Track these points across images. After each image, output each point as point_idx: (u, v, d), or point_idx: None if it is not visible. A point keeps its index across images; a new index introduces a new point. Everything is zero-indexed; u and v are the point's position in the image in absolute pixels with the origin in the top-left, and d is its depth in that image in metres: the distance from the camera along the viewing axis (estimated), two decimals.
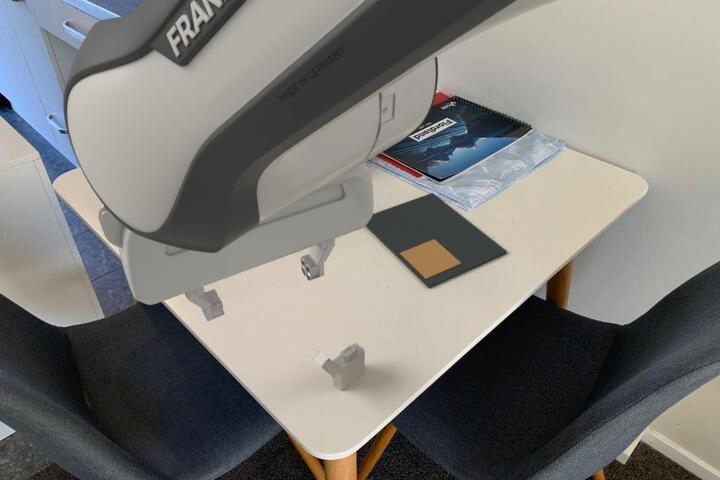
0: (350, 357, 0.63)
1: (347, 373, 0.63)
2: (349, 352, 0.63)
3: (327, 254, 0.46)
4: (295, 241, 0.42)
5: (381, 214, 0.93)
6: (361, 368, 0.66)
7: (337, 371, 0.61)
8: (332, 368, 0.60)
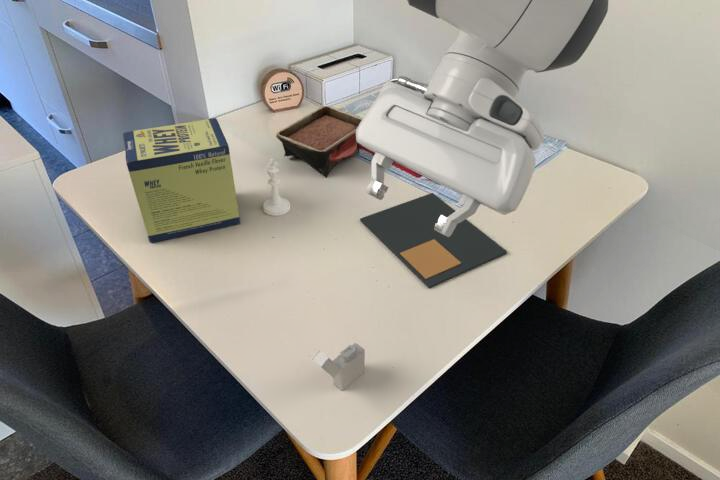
0: (350, 357, 0.63)
1: (347, 373, 0.63)
2: (349, 352, 0.63)
3: (459, 213, 0.53)
4: (445, 169, 0.54)
5: (381, 214, 0.93)
6: (361, 368, 0.66)
7: (337, 371, 0.61)
8: (332, 368, 0.60)
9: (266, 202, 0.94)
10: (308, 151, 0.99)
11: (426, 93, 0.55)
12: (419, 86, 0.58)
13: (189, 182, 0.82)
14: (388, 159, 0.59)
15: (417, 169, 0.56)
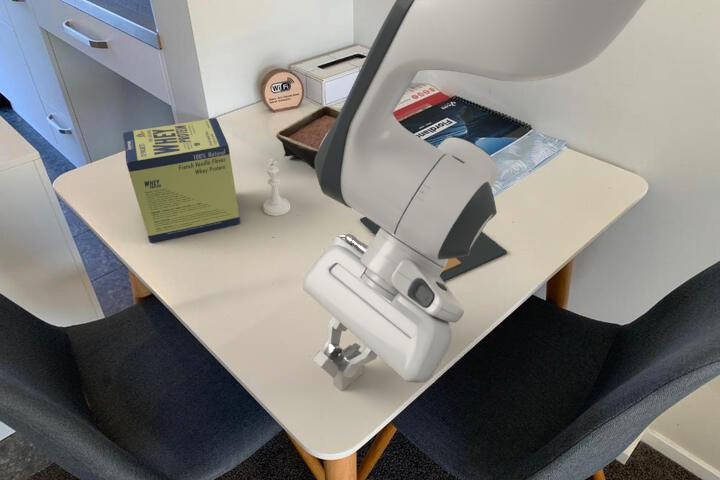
0: (350, 357, 0.63)
1: None
2: (349, 352, 0.63)
3: (358, 359, 0.60)
4: (369, 333, 0.59)
5: None
6: (361, 368, 0.66)
7: (337, 371, 0.61)
8: (332, 368, 0.60)
9: (266, 202, 0.94)
10: (308, 151, 0.99)
11: (360, 261, 0.61)
12: (361, 247, 0.64)
13: (189, 182, 0.82)
14: None
15: (347, 327, 0.61)
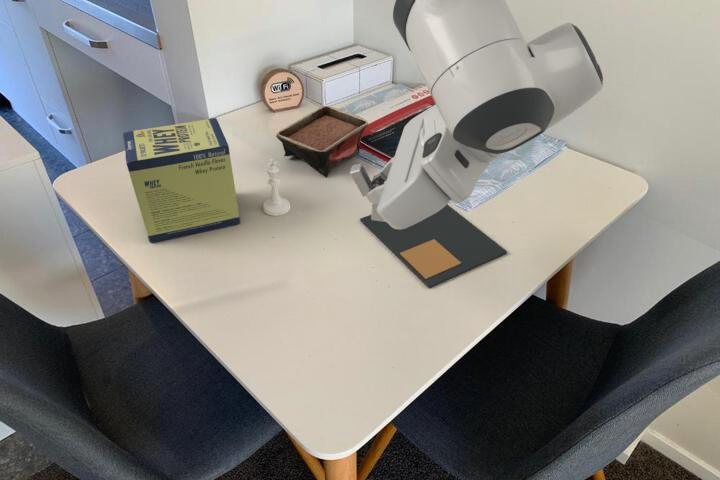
0: None
1: None
2: None
3: (378, 188, 0.65)
4: (395, 169, 0.62)
5: None
6: None
7: (367, 192, 0.68)
8: (361, 184, 0.67)
9: (266, 202, 0.94)
10: (308, 151, 0.99)
11: None
12: None
13: (189, 182, 0.82)
14: None
15: (392, 161, 0.65)
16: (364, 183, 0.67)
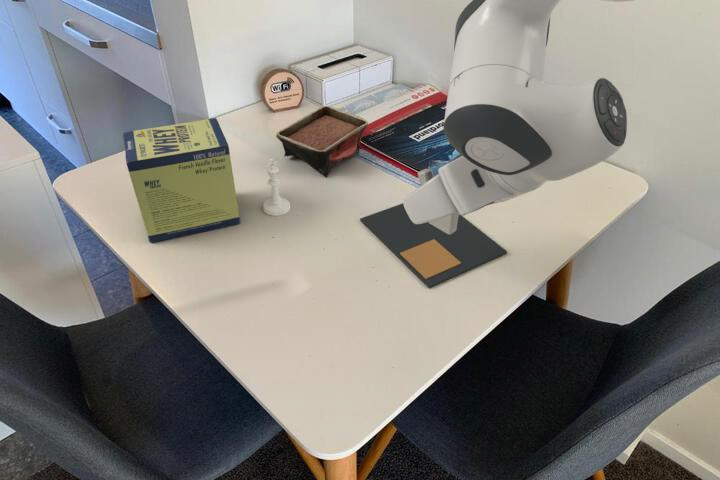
0: None
1: None
2: None
3: None
4: None
5: (381, 214, 0.93)
6: (447, 225, 0.76)
7: None
8: None
9: (266, 202, 0.94)
10: (308, 151, 0.99)
11: None
12: None
13: (189, 182, 0.82)
14: None
15: None
16: None
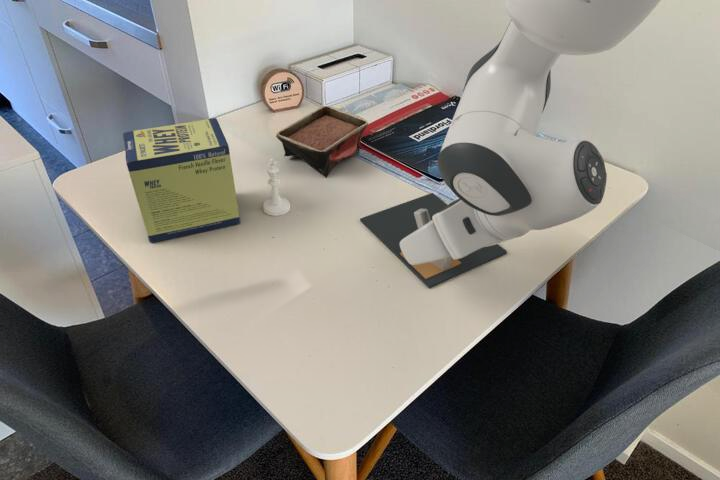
0: None
1: None
2: None
3: None
4: None
5: (381, 214, 0.93)
6: (441, 262, 0.81)
7: None
8: (420, 225, 0.80)
9: (266, 202, 0.94)
10: (308, 151, 0.99)
11: None
12: None
13: (189, 182, 0.82)
14: None
15: None
16: (422, 225, 0.80)
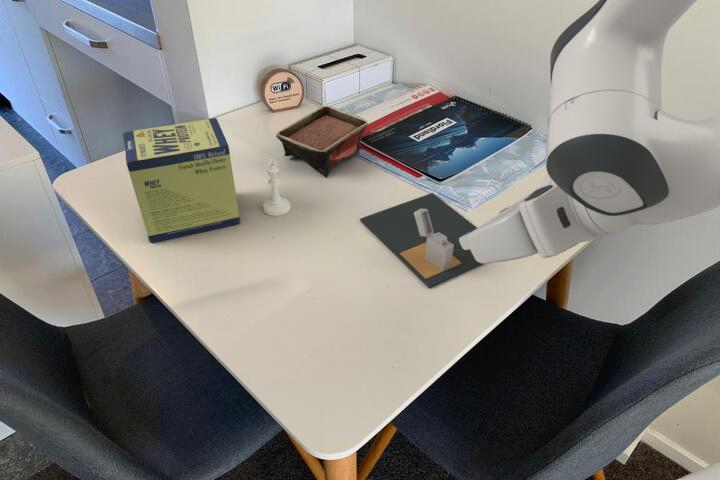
0: (437, 240, 0.80)
1: (430, 248, 0.81)
2: (439, 237, 0.79)
3: None
4: (505, 211, 0.63)
5: (381, 214, 0.93)
6: (441, 262, 0.81)
7: (423, 233, 0.81)
8: (420, 225, 0.80)
9: (266, 202, 0.94)
10: (308, 151, 0.99)
11: None
12: None
13: (189, 182, 0.82)
14: None
15: (510, 207, 0.66)
16: (422, 225, 0.80)
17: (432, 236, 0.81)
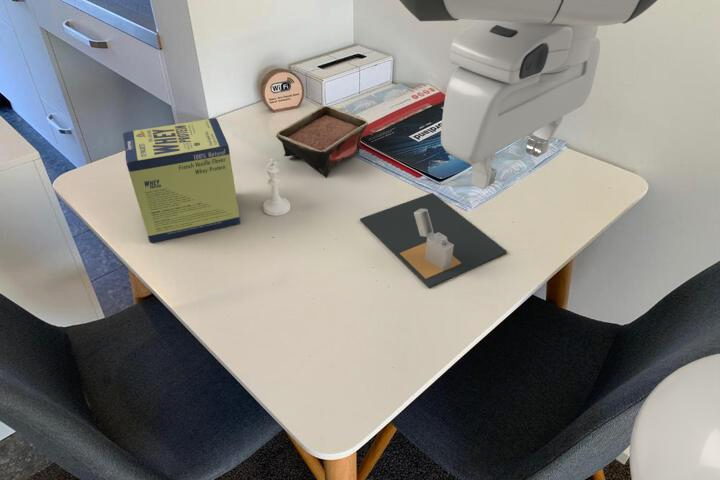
0: (437, 240, 0.80)
1: (430, 248, 0.81)
2: (439, 237, 0.79)
3: None
4: None
5: (381, 214, 0.93)
6: (441, 262, 0.81)
7: (423, 233, 0.81)
8: (420, 225, 0.80)
9: (266, 202, 0.94)
10: (308, 151, 0.99)
11: None
12: None
13: (189, 182, 0.82)
14: None
15: None
16: (422, 225, 0.80)
17: (432, 236, 0.81)
